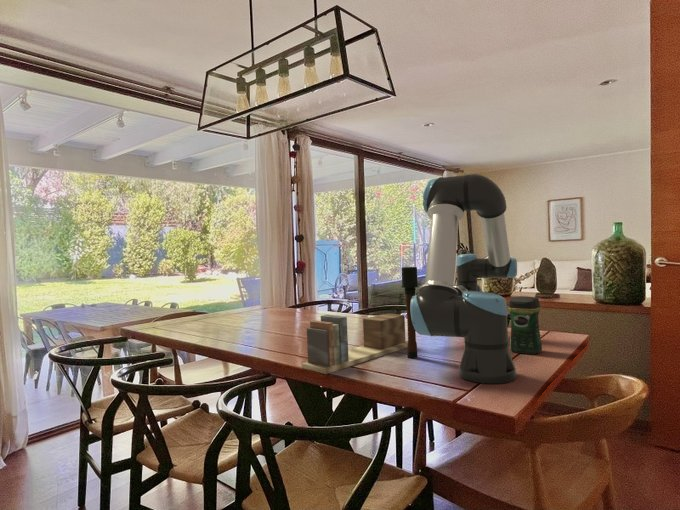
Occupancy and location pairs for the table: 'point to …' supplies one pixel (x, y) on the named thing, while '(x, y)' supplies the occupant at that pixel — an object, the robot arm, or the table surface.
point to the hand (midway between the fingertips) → (422, 303)
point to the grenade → (409, 284)
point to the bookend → (384, 331)
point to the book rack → (336, 346)
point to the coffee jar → (525, 325)
